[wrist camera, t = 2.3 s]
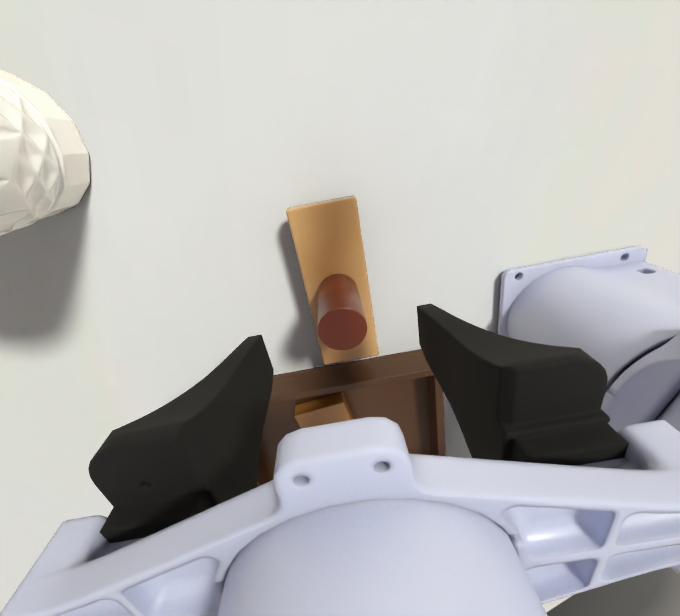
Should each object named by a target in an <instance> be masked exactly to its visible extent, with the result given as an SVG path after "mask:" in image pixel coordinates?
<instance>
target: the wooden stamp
mask: <svg viewBox="0 0 680 616" xmlns="http://www.w3.org/2000/svg"><path fill="white" fill-rule="evenodd" d="M286 213H287V217H288V221H289V225H290V229H291V233H292V237H293V241H294V245H295V249H296V253H297V257H298V261H299V265H300V269H301V273H302V278H303V282H304V286H305V290H306V294H307V298H308V302H309V306H310V310H311V314H312V318H313V322H314V326H315V330H316V334H317V338H318V342H319V346H320V350H321V354H322V358H323V362H324V365H326V364H332V363H338V362H343V361H349V360H354V359H360V358H366V357H371V356H377V355H378V354H379V352H378V346H377V339H376V332H375V325H374V318H373V311H372V304H371V298H370V291H369V284H368V277H367V270H366V263H365V256H364V249H363V243H362V236H361V229H360V222H359V215H358V208H357V201H356V198H355V196H353V195H352V196H347V197H341V198H336V199H331V200H326V201H321V202H316V203H310V204H305V205H300V206H295V207H290V208H288V209H287V211H286Z"/></svg>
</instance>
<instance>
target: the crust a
mask: <svg viewBox="0 0 680 616" xmlns="http://www.w3.org/2000/svg"><path fill="white" fill-rule="evenodd" d="M294 417H295V419H296V420H297V422H298V424H299V426H300V428H301V429H302V428H308V427H313V426H319V425H325V424H331V423H336V422H342V421H348V420H354V418H353V415H352V413H351V410H350V408H349V406H348V403H347V401H346V399H345V396H344V394H343V392H340V393H337V394H333V395H330V396H326V397H323V398H319V399H316V400H312V401H309V402H306V403H302V404H299V405H296V406H295V415H294Z"/></svg>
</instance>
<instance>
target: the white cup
mask: <svg viewBox="0 0 680 616" xmlns="http://www.w3.org/2000/svg"><path fill="white" fill-rule="evenodd" d="M89 183H90V170H89V153H88V151H87V149H86V146H85V144H84V142H83V140H82V138H81V136H80V134H79V132H78V130H77V127H76V125H75V123H74V121H73V120H72V119H71V118H70V117H69V116H68V115H67V114H66V113H65V112H64V111H63V110H62V109H61V108H60V107H59V105H58V104H57V103H56V102H55V101H54V100H53V99H52V98H51V97H50V96H49V95H48V94H47V93H46V92H45V91H43V90H41V89H39V88H37V87H35V86H33V85H32V84H30V83H28V82H26V81H24V80H22V79H20V78H18V77H17V76H15V75H13V74H11V73H8V72H5V71H2V70H0V236H1V235H4V234H6V233H9V232H11V231H14V230H17V229H20V228H23V227H26V226H29V225H31V224H33V223H35V222H36V221H37V220H40V219H43V218H46V217H50V216H53V215H56V214H58V213H60V212H62V211H64V210H66V209H68V208H70V207H72V206H74V205H77V204H78V203H79V202H80V200H81V198H82V196H83V194H84V192H85V191H86V189H87V187H88V185H89Z"/></svg>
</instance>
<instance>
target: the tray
mask: <svg viewBox="0 0 680 616" xmlns="http://www.w3.org/2000/svg"><path fill="white" fill-rule="evenodd" d="M340 392H343V394H344V396H345V399H346V401H347V403H348V406H349V408H350V410H351V413H352V415H353V418H354V419H359V418H365V417H385V418H387V419H389V420H391V421H393V422H395V423H397V424H398V425H399V427H400V429H401V431H402V433H403V435H404V439H405V442H406V446H407V449H408V452H409V454H422V455H435V456H445V429H444V399H443V390H442V388H441V386H440V385H439V383H438V381H437V379H436V377H435V376H434V374H433V372H432V370H431V369H430V367H429V365H428V363H427V361H426V359H425V356H424V354H423V351H422V349H420V350H415V351H409V352H403V353H398V354H392V355H386V356H381V357H375V358H369V359H364V360H358V361H352V362H347V363H341V364H335V365H330V366H324V367H318V368H313V369H307V370H302V371H296V372H290V373H285V374H279V375H273V385H272V392H271V397H270V401H269V406H268V410H267V415H266V419H265V424H264V428H263V433H262V439H261V448H260V458H259V469H258V482H257V487H258V486H261V485H263V484H265V483H267V482H270V481H272V480H274V469H275V462H276V455H277V447H278V444H279V442H280V441H281V440H282V439H283V438H284V436H285V435H286V434H289V433H291V432H294V431H296V430H299V429H301V428H300V426H299V424H298V422H297V420H296V419H295V417H294V415H295V406H296V405H299V404H302V403H306V402H309V401H312V400H316V399H319V398H323V397H326V396H330V395H333V394H337V393H340Z"/></svg>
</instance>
